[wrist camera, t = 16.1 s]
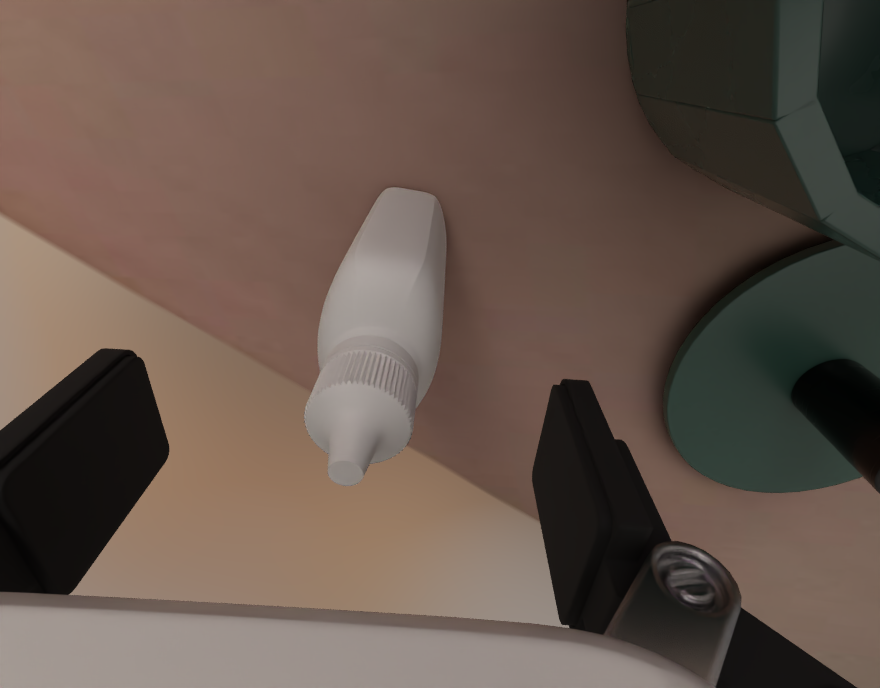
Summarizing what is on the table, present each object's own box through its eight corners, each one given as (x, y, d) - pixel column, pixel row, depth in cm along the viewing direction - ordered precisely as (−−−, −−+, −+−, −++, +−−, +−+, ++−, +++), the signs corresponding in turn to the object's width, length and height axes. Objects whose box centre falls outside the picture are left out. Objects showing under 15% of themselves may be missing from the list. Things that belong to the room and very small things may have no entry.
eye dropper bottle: (323, 273, 20) (183, 499, 10) (400, 164, 18) (323, 310, 7) (406, 330, 21) (360, 582, 11) (488, 235, 19) (527, 444, 9)
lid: (719, 214, 18) (827, 277, 13) (1065, 240, 18) (1313, 314, 13) (624, 466, 25) (669, 574, 20) (875, 484, 25) (986, 596, 20)
